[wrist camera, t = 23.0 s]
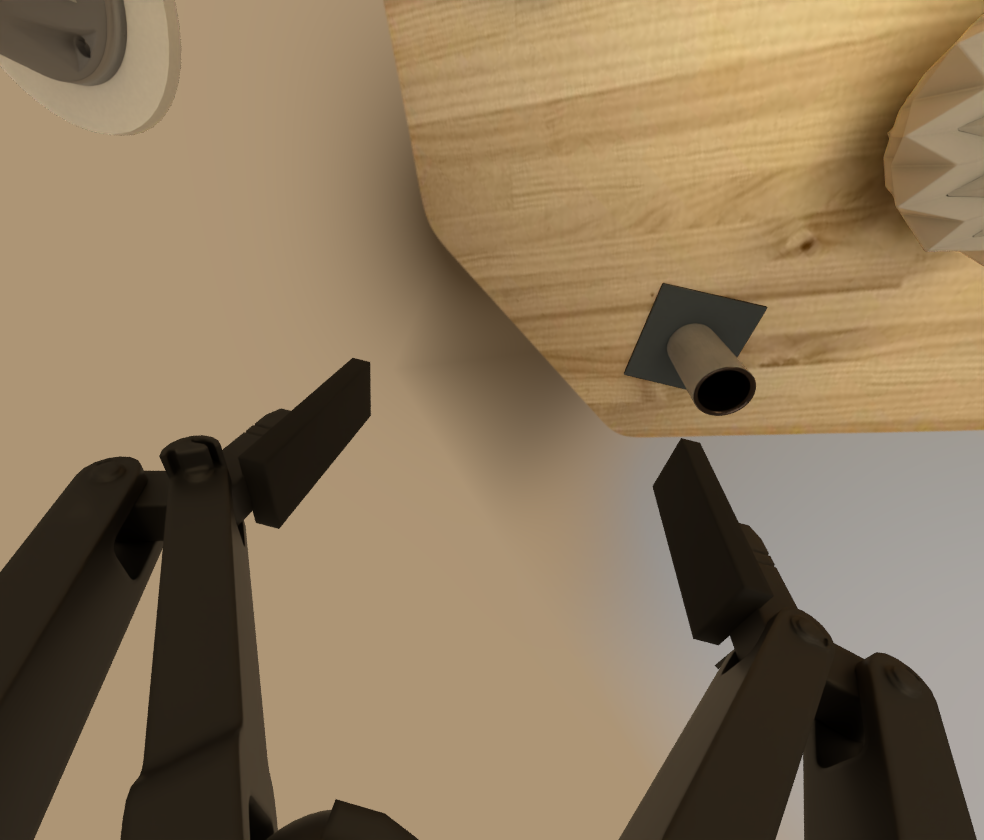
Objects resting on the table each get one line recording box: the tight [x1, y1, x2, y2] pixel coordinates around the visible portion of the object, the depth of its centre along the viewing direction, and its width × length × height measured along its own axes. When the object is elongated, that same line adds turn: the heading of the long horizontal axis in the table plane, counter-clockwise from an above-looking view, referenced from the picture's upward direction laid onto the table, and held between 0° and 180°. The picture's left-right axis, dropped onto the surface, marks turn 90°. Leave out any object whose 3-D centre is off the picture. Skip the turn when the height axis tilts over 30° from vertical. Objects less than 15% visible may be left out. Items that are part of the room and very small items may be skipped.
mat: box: [624, 283, 767, 390], centre depth 39 cm, size 10×10×1 cm
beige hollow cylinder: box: [667, 323, 756, 416], centre depth 34 cm, size 4×4×10 cm
